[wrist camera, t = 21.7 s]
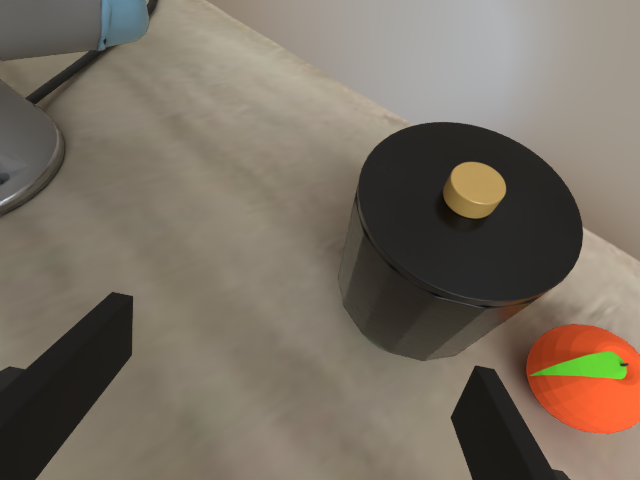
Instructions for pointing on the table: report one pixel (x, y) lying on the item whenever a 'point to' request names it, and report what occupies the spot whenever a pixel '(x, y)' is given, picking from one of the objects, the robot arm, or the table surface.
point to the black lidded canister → (453, 238)
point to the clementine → (586, 378)
